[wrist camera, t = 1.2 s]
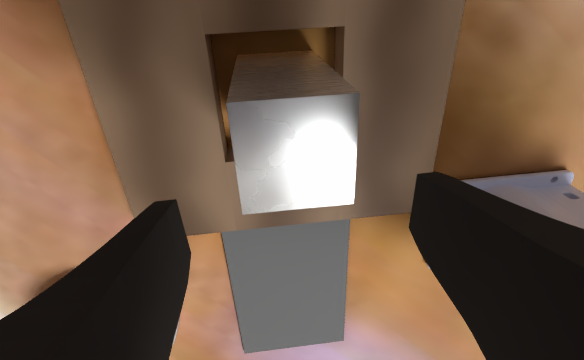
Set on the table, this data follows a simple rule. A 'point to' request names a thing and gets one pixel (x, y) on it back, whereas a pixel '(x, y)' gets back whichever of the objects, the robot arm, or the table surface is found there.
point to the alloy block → (292, 132)
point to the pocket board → (207, 108)
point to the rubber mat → (289, 283)
